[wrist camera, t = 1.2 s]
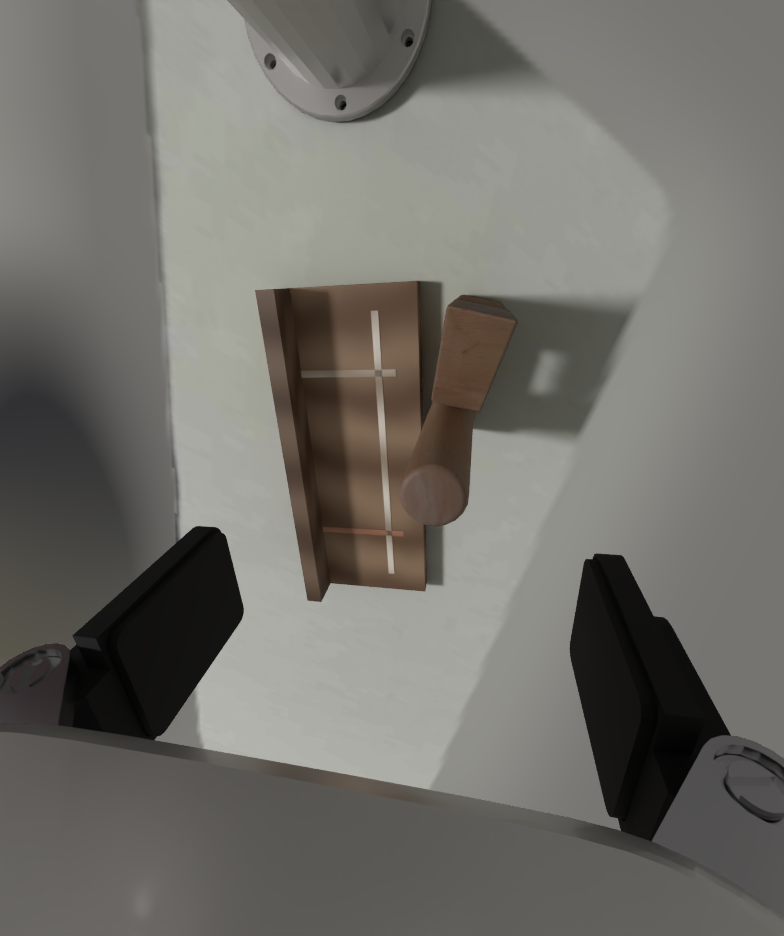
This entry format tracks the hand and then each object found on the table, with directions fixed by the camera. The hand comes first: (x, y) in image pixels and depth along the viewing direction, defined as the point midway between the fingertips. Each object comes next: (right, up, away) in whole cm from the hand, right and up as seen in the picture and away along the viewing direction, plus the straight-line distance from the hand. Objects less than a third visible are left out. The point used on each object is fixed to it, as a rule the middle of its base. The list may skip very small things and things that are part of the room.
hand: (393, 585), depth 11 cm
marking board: (-3, +4, +30) cm, 31 cm away
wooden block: (+6, +12, +25) cm, 28 cm away
